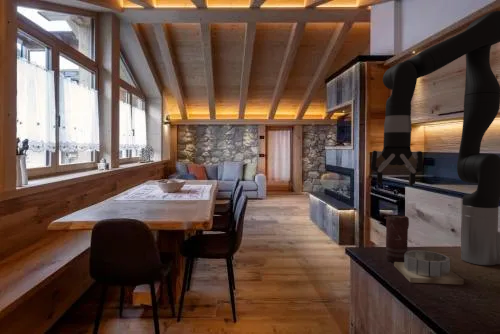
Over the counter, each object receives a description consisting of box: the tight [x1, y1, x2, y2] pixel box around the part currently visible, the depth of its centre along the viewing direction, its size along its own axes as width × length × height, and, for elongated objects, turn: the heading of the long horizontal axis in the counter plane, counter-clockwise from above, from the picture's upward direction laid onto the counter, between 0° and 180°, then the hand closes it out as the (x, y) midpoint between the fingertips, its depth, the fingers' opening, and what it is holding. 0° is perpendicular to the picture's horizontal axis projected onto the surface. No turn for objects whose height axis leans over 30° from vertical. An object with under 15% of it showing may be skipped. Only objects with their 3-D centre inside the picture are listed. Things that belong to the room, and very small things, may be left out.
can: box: [385, 214, 410, 264], centre depth 106 cm, size 6×6×14 cm
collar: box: [404, 249, 451, 277], centre depth 94 cm, size 11×11×4 cm
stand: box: [393, 262, 465, 285], centre depth 94 cm, size 13×13×1 cm
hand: (395, 185), depth 103 cm, fingers open, 8 cm apart
